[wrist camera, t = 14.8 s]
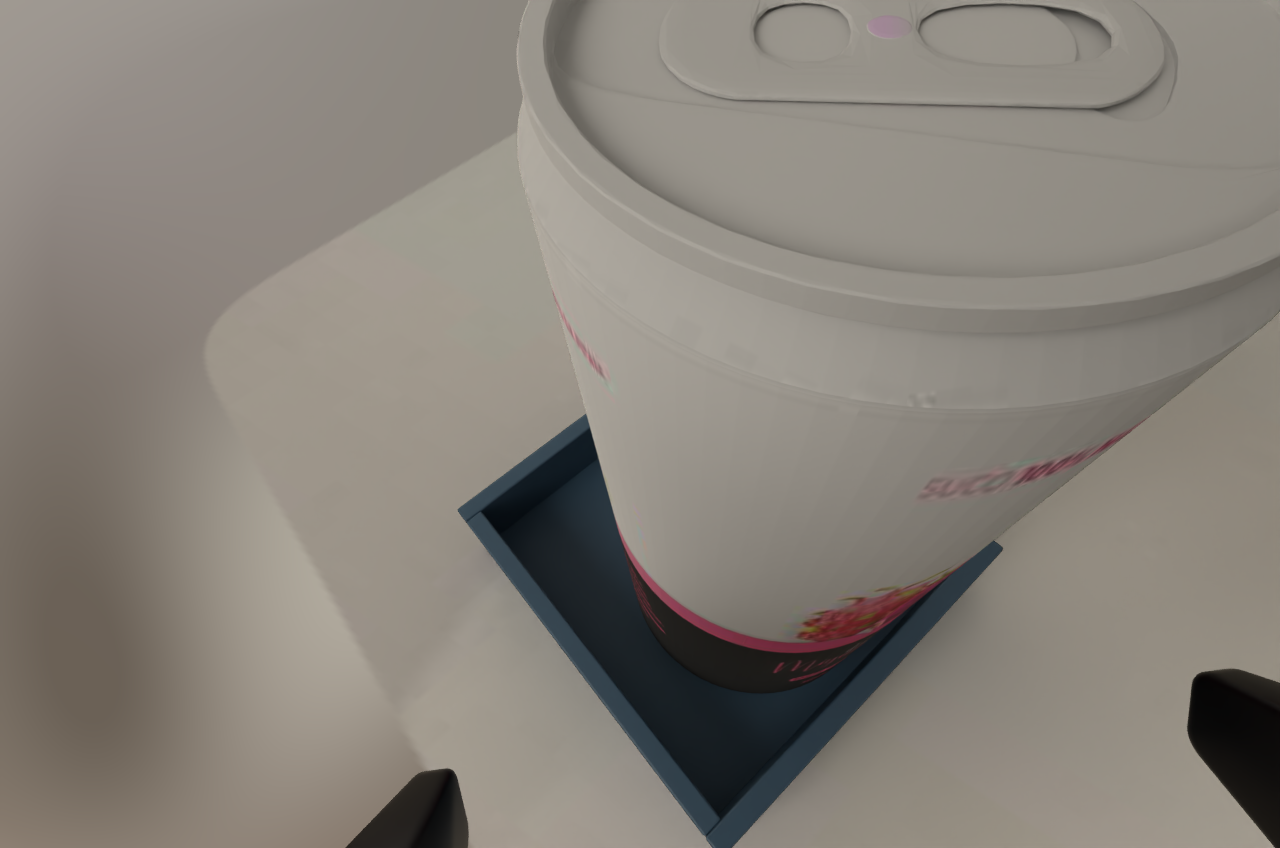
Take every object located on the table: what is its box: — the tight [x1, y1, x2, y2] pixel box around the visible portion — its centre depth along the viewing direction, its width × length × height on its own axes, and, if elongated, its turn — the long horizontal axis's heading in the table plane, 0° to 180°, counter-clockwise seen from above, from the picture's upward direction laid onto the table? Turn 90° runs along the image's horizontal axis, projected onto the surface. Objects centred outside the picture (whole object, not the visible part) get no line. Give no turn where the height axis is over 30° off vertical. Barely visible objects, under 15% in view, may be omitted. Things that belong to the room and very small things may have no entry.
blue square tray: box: [458, 414, 1003, 848], centre depth 17 cm, size 10×10×2 cm
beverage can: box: [517, 0, 1280, 694], centre depth 11 cm, size 7×6×15 cm
